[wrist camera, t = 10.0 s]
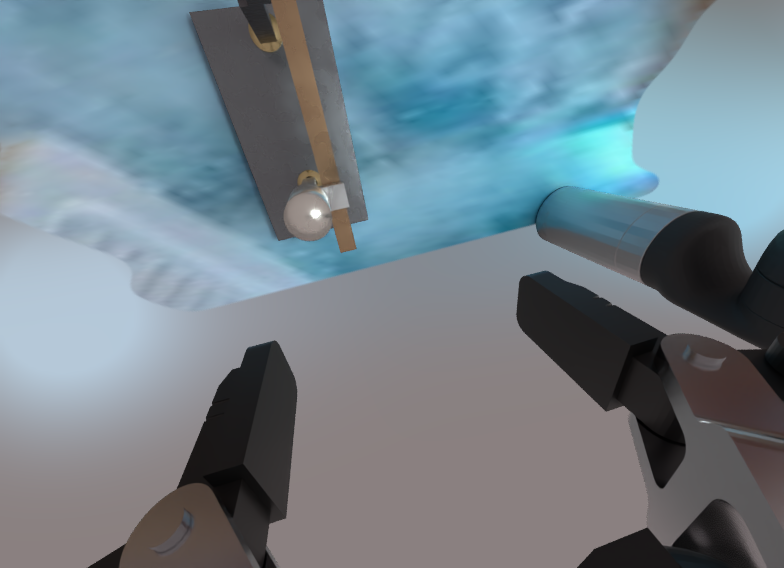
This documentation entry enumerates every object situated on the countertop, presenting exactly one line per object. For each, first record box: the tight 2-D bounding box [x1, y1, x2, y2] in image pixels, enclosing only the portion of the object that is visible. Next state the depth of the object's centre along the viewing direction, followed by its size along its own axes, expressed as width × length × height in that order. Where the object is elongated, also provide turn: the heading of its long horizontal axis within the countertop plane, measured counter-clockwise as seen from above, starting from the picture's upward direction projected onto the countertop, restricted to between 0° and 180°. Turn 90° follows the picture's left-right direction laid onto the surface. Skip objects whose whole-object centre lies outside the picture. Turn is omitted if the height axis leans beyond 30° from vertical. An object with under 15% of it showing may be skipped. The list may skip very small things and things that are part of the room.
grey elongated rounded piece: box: [284, 177, 349, 241], centre depth 26 cm, size 5×3×17 cm
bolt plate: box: [189, 0, 368, 253], centre depth 27 cm, size 12×22×12 cm, turn 10°
